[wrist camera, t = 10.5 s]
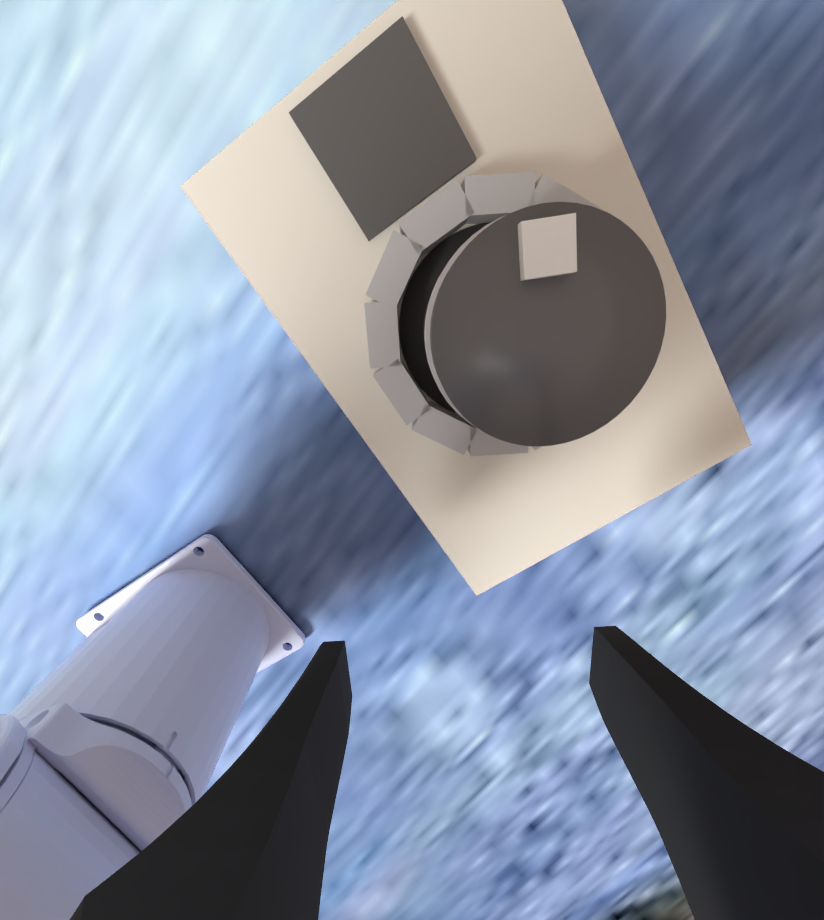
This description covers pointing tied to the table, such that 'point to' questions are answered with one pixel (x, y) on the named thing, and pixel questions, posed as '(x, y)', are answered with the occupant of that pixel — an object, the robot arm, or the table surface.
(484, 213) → the camera body
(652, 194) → the table surface
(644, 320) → the lens
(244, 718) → the table surface
